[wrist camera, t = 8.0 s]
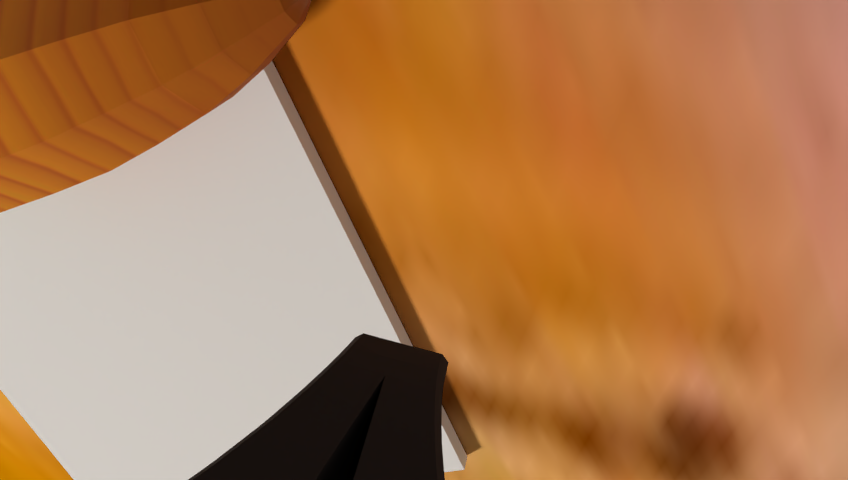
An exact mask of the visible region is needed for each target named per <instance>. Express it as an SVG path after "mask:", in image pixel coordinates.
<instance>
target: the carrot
mask: <svg viewBox="0 0 848 480" xmlns="http://www.w3.org/2000/svg"><path fill="white" fill-rule="evenodd" d="M310 3H311V0H0V213H1V212H4V211H6V210H9V209H12V208H15V207H18V206H21V205H23V204H26V203H29V202H32V201H35V200H37V199H40V198H43V197H46V196H49V195H52V194H54V193H57V192H59V191H62V190H64V189H67V188H69V187H72V186H74V185H77V184H79V183H82V182H84V181H87V180H89V179H92V178H94V177H97V176H99V175H102V174H104V173H107V172H109V171H112V170H113V169H115V168H117V167H119V166H120V165H122V164H124V163H126V162H128V161H129V160H131V159H133V158H135V157H136V156H138V155H140V154H142V153H144V152H145V151H147V150H149V149H151V148H153V147H154V146H156V145H158V144H159V143H161V142H163V141H164V140H166V139H167V138H169V137H171V136H172V135H174V134H175V133H177V132H179V131H180V130H182V129H183V128H185V127H187V126H188V125H190V124H191V123H193V122H195V121H196V120H198V119H199V118H201V117H203V116H204V115H206V114H207V113H209V112H210V111H212V110H213V109H215V108H217V107H218V106H220V105H221V104H223V103H224V102H226V101H227V100H229V99H230V98H232V97H233V96H235V95H236V94H237V93H238V92H239V91H240V90H241V89H242V88H243V87H244V86H245V85H247V84H248V83H249V82H250V81H251V80H252V79H253V78H254V77H255V76H256V75H258V74H259V73H260V72H261V71H262V70H263V69H264V68H265V67H266V66H267V65H269V64H270V62H271V61H272V60H273V59H274V57H275V56H276V55H277V54H278V53H279V51H280V50H281V49H282V48H283V46H284V45H285V44H286V43H287V42H288V40H289V39H290V38H291V37H292V35H293V34H294V33H295V32H296V31H297V29H298V28H299V27H300V26H301V24H302V23H303V22H304V21H305V19H306V16H307V12H308V9H309V6H310Z"/></svg>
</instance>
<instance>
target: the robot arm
mask: <svg viewBox="0 0 848 480" xmlns="http://www.w3.org/2000/svg"><path fill="white" fill-rule="evenodd" d="M447 366H448V362H447V360H446V359H445V357H444V356H443V355H442V354H439V353H435V352H432V351H428V350H424V349H420V348H417V347H413V346H409V345H405V344H402V343H398V342H394V341H390V340H387V339H383V338H379V337H375V336H372V335H368V334H364V333H363V334H361V335H359V336H357V337H355V338H354V339H353V340H352V341H351V342H350V344H349V345H348V346H347V347H346V348H345V349H344V350H343V351H342V352H341V353H340V354H339V355H338V356H337V357H336V358H335V359H334V360H333V361H332V362H331V363H330V364H329V365H328V366H327V367H326V368H325V369H324V370H323V371H322V372H321V373H319V374H318V375H317V376H316V377H315V378H314V379H313V380H312V381H311V382H310V383H309V384H308V385H307V386H305V387H304V388H303V389H302V390H301V391H300V392H299V393H298V394H296V395H295V396H294V397H293V398H292V399H291V400H289V401H288V402H287V403H286V404H285V405H284V406H282V407H281V408H280V409H279V410H278V411H277V412H276V413H274V414H273V415H272V416H271V417H270V418H269V419H267V420H266V421H265V422H264V423H262V424H261V425H260V426H259V427H258V428H256V429H255V430H254V431H252V432H251V433H250V434H249V435H247V436H246V437H245V438H243V439H242V440H241V441H239V442H238V443H237V444H236V445H234V446H233V447H232V448H230V449H229V450H228V451H226V452H225V453H224V454H223V455H221V456H220V457H219V458H217V459H216V460H215V461H213V462H212V463H211V464H209V465H208V466H207V467H205V468H204V469H202V470H201V471H200V472H198V473H197V474H195V475H194V476H192V477H191V478H190V479H188V480H445V478H444V464H443V451H442V393H443V384H444V380H445V375H446V371H447Z"/></svg>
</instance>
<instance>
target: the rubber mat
mask: <svg viewBox="0 0 848 480" xmlns="http://www.w3.org/2000/svg"><path fill="white" fill-rule="evenodd" d="M363 333H364V334H368V335H372V336H375V337H379V338H383V339H387V340H390V341H394V342H398V343H402V344H405V345H409V346H413V345H412V343H411V341H410V339H409V337H408V335H407V333H406V331H405V329H404V327H403V325H402V323H401V321H400V319H399V317H398V315H397V313H396V311H395V309H394V307H393V305H392V303H391V301H390V299H389V297H388V295H387V293H386V291H385V289H384V287H383V285H382V282H381V280H380V278H379V276H378V274H377V272H376V270H375V268H374V266H373V264H372V262H371V260H370V258H369V256H368V254H367V252H366V250H365V248H364V246H363V244H362V242H361V240H360V238H359V236H358V234H357V232H356V230H355V228H354V226H353V224H352V222H351V220H350V218H349V216H348V214H347V212H346V210H345V207H344V205H343V203H342V201H341V199H340V197H339V195H338V193H337V191H336V189H335V187H334V185H333V183H332V181H331V179H330V177H329V175H328V173H327V171H326V169H325V167H324V165H323V163H322V161H321V159H320V157H319V155H318V153H317V151H316V149H315V147H314V145H313V143H312V141H311V139H310V137H309V134H308V132H307V130H306V128H305V126H304V124H303V122H302V120H301V118H300V116H299V114H298V112H297V110H296V108H295V106H294V104H293V102H292V100H291V98H290V96H289V94H288V92H287V90H286V88H285V86H284V84H283V82H282V80H281V78H280V76H279V74H278V72H277V70H276V68H275V66H274V64H273V62H272V61H271V62H270V64H269V65H267V66H266V67H265V68H264V69H263V70H262V71H261V72H260V73H259V74H258V75H256V76H255V77H254V78H253V79H252V80H251V81H250V82H249V83H248V84H247V85H245V86H244V87H243V88H242V89H241V90H240V91H239V92H238V93H237V94H236V95H235V96H233V97H232V98H230V99H229V100H227V101H226V102H224V103H223V104H221V105H220V106H218V107H217V108H215V109H213V110H212V111H210V112H209V113H207V114H206V115H204V116H203V117H201V118H199V119H198V120H196V121H195V122H193V123H191V124H190V125H188V126H187V127H185V128H183V129H182V130H180V131H179V132H177V133H175V134H174V135H172V136H171V137H169V138H167V139H166V140H164V141H163V142H161V143H159V144H158V145H156V146H154V147H153V148H151V149H149V150H147V151H145V152H144V153H142V154H140V155H138V156H136V157H135V158H133V159H131V160H129V161H128V162H126V163H124V164H122V165H120V166H119V167H117V168H115V169H113V170H112V171H109V172H107V173H104V174H102V175H99V176H97V177H94V178H92V179H89V180H87V181H84V182H82V183H79V184H77V185H74V186H72V187H69V188H67V189H64V190H62V191H59V192H57V193H54V194H52V195H49V196H46V197H43V198H40V199H37V200H35V201H32V202H29V203H26V204H23V205H21V206H18V207H15V208H12V209H9V210H6V211H4V212H1V213H0V390H1V391H2V392H3V393H4V395H5V396H6V397H7V398H8V399H9V401H10V402H11V403H12V404H13V406H14V407H15V408H16V409H17V411H18V412H19V413H20V414H21V415H22V417H23V418H24V419H25V420H26V422H27V423H28V424H29V425H30V427H31V428H32V429H33V430H34V431H35V433H36V434H37V435H38V436H39V438H40V439H41V440H42V441H43V442H44V444H45V445H46V446H47V447H48V449H49V450H50V451H51V452H52V454H53V455H54V456H55V457H56V458H57V460H58V461H59V462H60V463H61V465H62V466H63V467H64V468H65V470H66V471H67V472H68V473H69V474H70V476H71V477H72V478H73V479H74V480H188V479H190V478H191V477H192V476H194V475H195V474H197V473H198V472H200V471H201V470H202V469H204V468H205V467H207V466H208V465H209V464H211V463H212V462H213V461H215V460H216V459H217V458H219V457H220V456H221V455H223V454H224V453H225V452H226V451H228V450H229V449H230V448H232V447H233V446H234V445H236V444H237V443H238V442H239V441H241V440H242V439H243V438H245V437H246V436H247V435H249V434H250V433H251V432H252V431H254V430H255V429H256V428H258V427H259V426H260V425H261V424H262V423H264V422H265V421H266V420H267V419H269V418H270V417H271V416H272V415H273V414H274V413H276V412H277V411H278V410H279V409H280V408H281V407H282V406H284V405H285V404H286V403H287V402H288V401H289V400H291V399H292V398H293V397H294V396H295V395H296V394H298V393H299V392H300V391H301V390H302V389H303V388H304V387H305V386H307V385H308V384H309V383H310V382H311V381H312V380H313V379H314V378H315V377H316V376H317V375H318V374H319V373H321V372H322V371H323V370H324V369H325V368H326V367H327V366H328V365H329V364H330V363H331V362H332V361H333V360H334V359H335V358H336V357H337V356H338V355H339V354H340V353H341V352H342V351H343V350H344V349H345V348H346V347H347V346H348V345H349V344H350V342H351V341H352V340H353V339H354V338H355V337H357V336H359V335H361V334H363ZM442 451H443V464H444V472H450V471H458V470H464V469H465V464H466V460H467V455H466V453H465V451H464V449H463V447H462V445H461V443H460V441H459V439H458V437H457V435H456V432H455V430H454V428H453V426H452V424H451V422H450V420H449V418H448V416H447V414H446V412H445V410H444V408H443V406H442Z"/></svg>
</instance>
